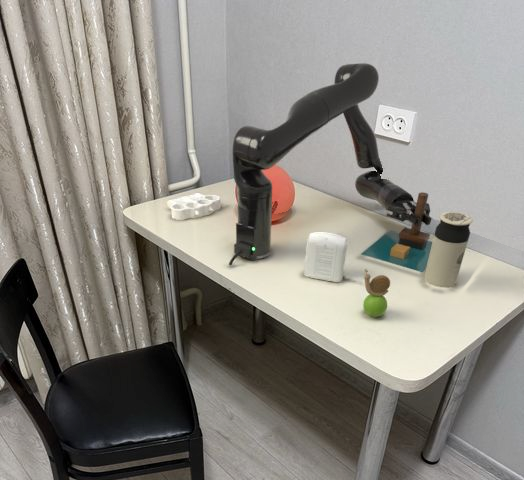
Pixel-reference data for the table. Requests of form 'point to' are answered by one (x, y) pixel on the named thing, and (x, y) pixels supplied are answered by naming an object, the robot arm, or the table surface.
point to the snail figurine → (376, 294)
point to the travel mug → (448, 249)
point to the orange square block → (400, 251)
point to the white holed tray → (193, 206)
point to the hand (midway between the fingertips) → (424, 222)
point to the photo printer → (325, 256)
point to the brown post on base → (416, 227)
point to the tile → (382, 252)
